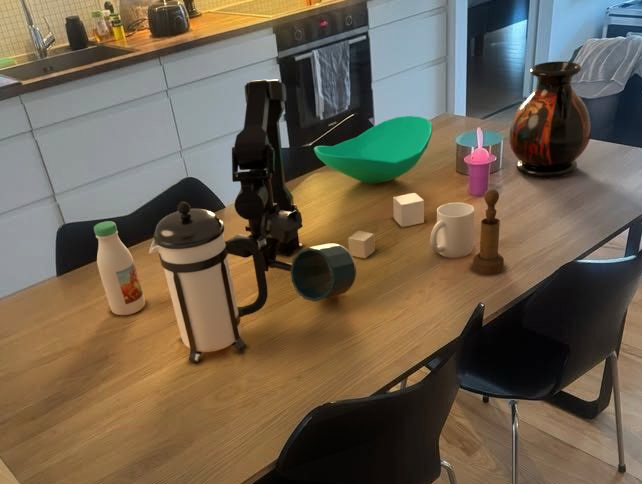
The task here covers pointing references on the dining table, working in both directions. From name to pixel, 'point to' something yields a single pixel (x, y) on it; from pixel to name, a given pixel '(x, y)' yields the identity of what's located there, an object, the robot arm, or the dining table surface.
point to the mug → (453, 230)
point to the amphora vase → (550, 124)
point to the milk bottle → (117, 271)
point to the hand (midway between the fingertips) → (268, 269)
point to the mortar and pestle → (489, 239)
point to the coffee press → (204, 279)
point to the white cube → (408, 209)
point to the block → (361, 244)
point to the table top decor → (380, 150)
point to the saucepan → (320, 271)
